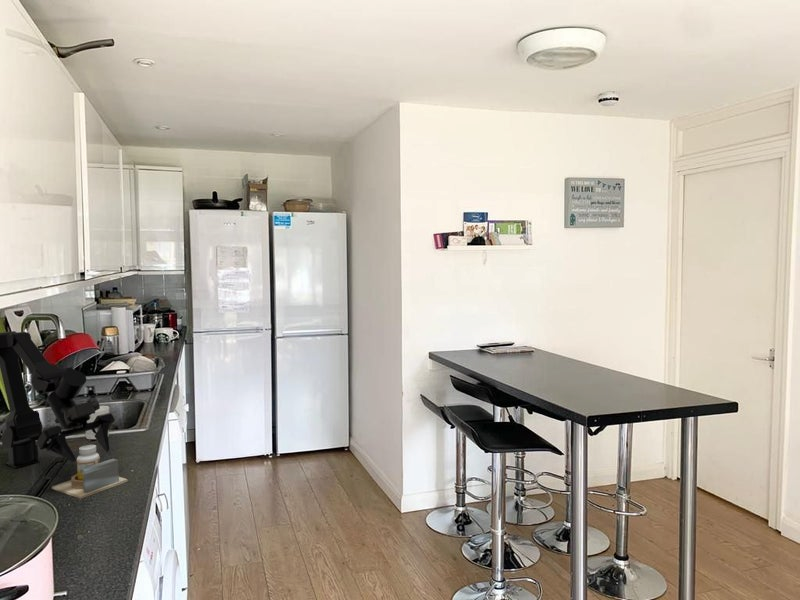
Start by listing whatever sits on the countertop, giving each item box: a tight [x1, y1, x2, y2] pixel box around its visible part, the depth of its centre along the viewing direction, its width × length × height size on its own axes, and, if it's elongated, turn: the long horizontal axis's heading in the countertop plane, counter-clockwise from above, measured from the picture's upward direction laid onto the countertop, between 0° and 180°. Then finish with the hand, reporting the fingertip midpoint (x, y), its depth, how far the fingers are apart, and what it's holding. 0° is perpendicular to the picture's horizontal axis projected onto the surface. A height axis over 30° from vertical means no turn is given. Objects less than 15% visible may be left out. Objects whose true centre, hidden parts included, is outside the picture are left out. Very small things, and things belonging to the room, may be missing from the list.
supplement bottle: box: [76, 444, 101, 481], centre depth 158 cm, size 5×5×10 cm
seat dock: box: [51, 458, 128, 500], centre depth 158 cm, size 13×13×6 cm
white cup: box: [85, 405, 110, 439], centre depth 198 cm, size 8×8×10 cm
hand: (91, 455), depth 157 cm, fingers open, 9 cm apart
